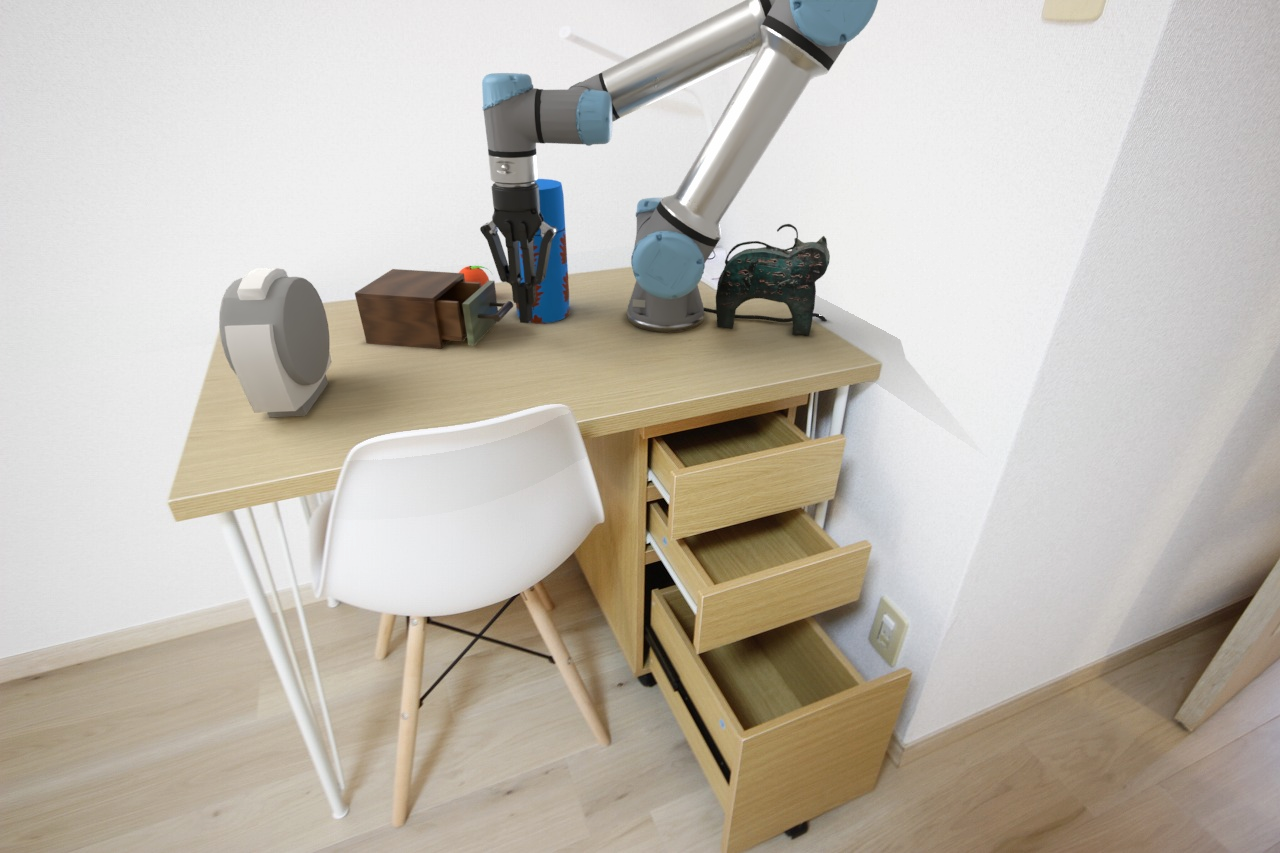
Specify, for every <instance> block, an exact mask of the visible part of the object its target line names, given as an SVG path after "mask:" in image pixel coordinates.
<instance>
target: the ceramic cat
mask: <svg viewBox="0 0 1280 853" xmlns="http://www.w3.org/2000/svg"><path fill="white" fill-rule="evenodd" d="M787 227H788V228H791V229H794V232H795V233H796V237H794V244H793V245H792V246H791V247H788V248H780V247H777V246H773V245H770V244H768V243H766V242H762V241H759V240H753V241H752V240H751V241H750V240H749V241H743V242H740V243H736V245H734V246H732V248H731V249H730V251H729V252H728V253H727V254H726V257H725V260H724V264H725V265H724V267H723V270H722V271H721V273H720V276H719V277H718V281H717V286H716V293H715V310H716V314H715V315H716V327H717V328H718V329H728V330H733V329H734V324H735V319H736V318H735V314H736V312H737V309H738V308H739V307H740V306H741V305H742V304H744V303H745V302H747V301H750V300H754V299H755V300H756V299H762V300H768V301H773V302H777V303H783V304H785V305H786V306H787V308H788V310H789V312H790V315H791V318H792V322H791V323H792V328H791V329H792V330H791V333H792V334H791V335H792V336H793V335H794V336H798V335H800V336H807V337H809V336H810V333H811V328H812V323H813V318H814V317H813V313H814V310H815V305H816V296H817V295H816V293H817V289H816V282H817V281H818V280H820V279H821V278H822V277H823V276H824V275H825V274H826V272H827V270H828V267H829V265H830V258H831V255H830V254H831V253H830V250H829V248H828V240H827V237H825V235H823V236H821V237H820V238H819V239H818V240H817V241H806V242H803V241H801V239H799V232H798V229H797V227H795V226H794V225H793V224H791V223H784V224H782V225H780V226H779V227H778V228H777V229H776V232H779V231H781V230H782V229H783V228H787ZM752 244H759V245H762V246H764V247H758V248H745V249H743V250H742V251H739V252H737V253H735V254H734V255H733V256H732V257H730V255H731V254H732V252H734V251H735V250H737V248H739V247H741V246H745V245H752ZM729 257H730V258H729Z"/></svg>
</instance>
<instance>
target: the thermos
mask: <svg viewBox="0 0 1280 853" xmlns="http://www.w3.org/2000/svg"><path fill="white" fill-rule="evenodd" d="M535 183H537V185H538V186H539V200H540V212H541V214H542V216H543V219H544V222H545V223H546V224H548V225H549V226H551V227H553V226H555V227H556V228H557V233H556V234H555V236H554V238H553V239H552V243H551V249H550V254H549V260H548V266H547V271H546V277H545V279H544V280H543V282H542V283H541V284H539V285H538V284H537V285H535V289H536V301H535V302H534V304H532V316H533V318H532V319H531V320H530V321H529V323H532V324H549V323H555V322H559V321H561V320H564V319H566V318H567V317H568V316H569V315H570V287H569V285H570V284H569V269H568V268H569V266H568V265H569V264H568V250H567V249H568V248H567V234H566V232H567V231H566V215H565V200H564V198H565V197H564V189H563V184H562V182H561V181H558V180H556V179H549V178H538V179H537V180H536V181H535ZM542 239H543V237H541V229H539V230H538V232H537V233H536V235H535V236H534V243H533V251H534V264H535V275H536V269H537V263H538V257H539V251H540V245H541V241H542ZM519 254H520V267H521V278H523V279H522V280H521V283H522V282H524V283H525V280H524V269H523V257H522V248H521V246H520V241H519ZM515 307H516V314H517V317H518V318H519V319H520V317H519V306H518V303H515Z"/></svg>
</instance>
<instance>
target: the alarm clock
mask: <svg viewBox="0 0 1280 853" xmlns="http://www.w3.org/2000/svg"><path fill="white" fill-rule="evenodd" d="M218 321H219V334H220V335H219V336H220V342H221V345H222V349H223V352H224V356H225V358H226V360H227V362H228V364H229V366H230V369H231V370H232V371H233V373H234V374H235V376H236V377H237V379H238V382H239V383H240V386H241V388H242V390H243V393H244V395H245V397H246V400H247V401H248V403H249V405H250V407H251V409H252V411H253V413H267V417H268V418H282V417H283V418H284V417H286V418H288V417H306V416H307V414H308V413H309V411H310V410H311V408H312V407H313V406H314V404H315V403H316V402H317V400H318V399H319V397H320V396H321V394H322V393H323V391H324V390H325V389H326V387H327V386H328V384H329V381H328V376H327V373H328V370H329V369H330V366H331V364H332V357H331V352H330V329H329V328H330V327H329V322H328V318H327V313H326V310H325V306H324V304H323V300H322V298H321V296H320V294H319V292H318V290H317V289H316V287H315V286H314V285H313V283H312V282H311V281H309V280H308V279H306V278H304V277H301V276H288V272H287V271H286V270H285V269H284V268H277V267H271V268H270V267H269V268H264V267H263V268H254V269H252V270H251V271H248V272H247V273H246V274H245V275H244V276H243V277H240V278H238V279H236V280H233V281H232V282H231V284H229V286H228V287H227V288H226V289H225V291H224V294H223V295H222V299H221V302H220V308H219V320H218Z"/></svg>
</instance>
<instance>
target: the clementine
mask: <svg viewBox="0 0 1280 853" xmlns="http://www.w3.org/2000/svg"><path fill="white" fill-rule="evenodd" d="M483 269H486V270H489V272H490V273H491V275H492V276H494V275H493V274H494V273H492V271H491V270H490V269H488V268H487V267H485V266H483V265H468V266H465V267H463V268H462V269H460V270H459V272H458V273H464V278H465V281H466V282H480V283H481V287H482V286H483V285H484V284H485V283H486V282H487V281H490V279H489V276H488V274H487V273H486V271H484V270H483Z"/></svg>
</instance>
